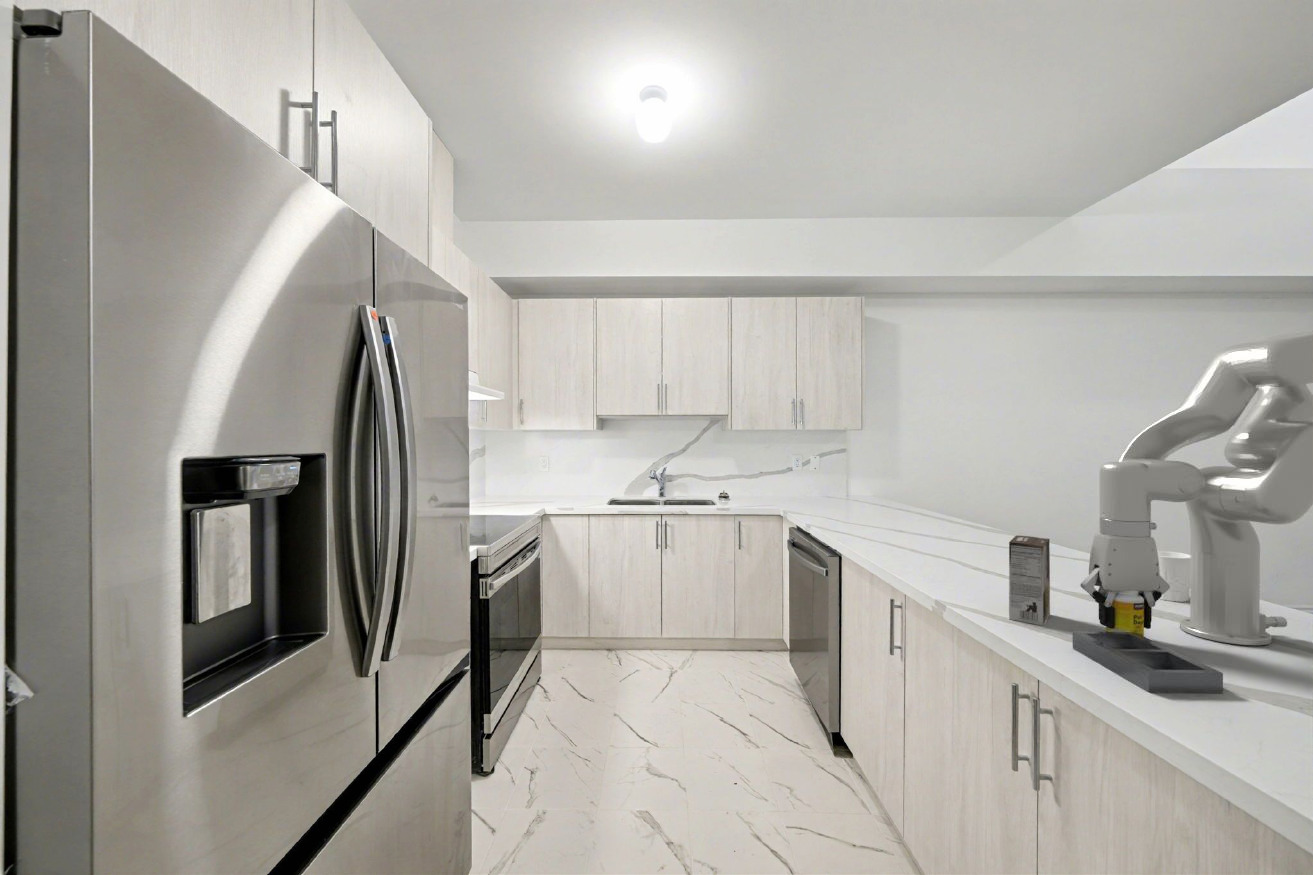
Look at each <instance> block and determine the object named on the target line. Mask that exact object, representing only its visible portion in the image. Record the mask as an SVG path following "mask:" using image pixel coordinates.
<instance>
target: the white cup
mask: <svg viewBox="0 0 1313 875" xmlns="http://www.w3.org/2000/svg"><path fill="white" fill-rule="evenodd" d="M1157 552H1158V559H1159V569H1160V576H1161V577H1162V578H1163V579H1164V580H1165V581H1166V582H1167V583H1168V584H1169V585H1170V588H1169V590H1167V591H1166V592H1165V593H1164V594H1162V596H1161V597H1160V598H1159V599H1158V600H1162V601H1168V602H1175V601H1176V602H1178V603H1181V602H1183V603H1185V602H1189V601H1190V574H1191V554H1187V553H1184V552H1176V551H1167V550H1165V551H1164V550H1157Z"/></svg>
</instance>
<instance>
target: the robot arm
mask: <svg viewBox="0 0 1313 875" xmlns="http://www.w3.org/2000/svg"><path fill="white" fill-rule="evenodd" d="M1309 384H1313V330H1309V331H1301V332H1294V333H1293V332H1292V333H1288V334H1287V333H1286V334H1281V335H1276V336H1271V337H1269V338H1266V339H1264V340H1262V341H1255V342H1254V341H1253V342H1248V343H1239V344H1234V345H1230V346H1227V347H1224V348H1222V349H1220V350H1219V351H1216V353H1215V354H1214V355H1213V356H1212V357H1211V359H1210V360H1209V361H1208V363H1207V364H1206V366H1205V367H1204V369H1203V370H1202V372H1201V374H1200V375H1199V376H1198V378H1197V380H1196V381H1195V383H1194V384H1193V386H1191V388H1190V390H1189V391H1188V393H1187V394H1186V395H1185V397H1184V398H1183V400H1182V402H1181V403H1180V404H1179V406H1178V407H1177V408H1176V409H1174V410H1172V411H1171V412H1170V413H1167V414H1166V415H1164V416H1163V417H1161V418H1159V419H1158V420H1156V422H1154V423H1153V424H1151V425H1150V426H1148V427H1147V428H1145V429H1144V430H1142V432H1140V433H1138V435H1137V436H1135V437H1134V438H1133V439H1132V441H1131V442H1130V443H1129V444H1128V446H1127V447H1126V448H1125V450H1124V451H1123V453H1122V454H1121V456H1120V458H1118V461H1108V462H1104V463H1103V464H1102V465H1101V466H1100V468H1099V533H1098V534H1097V533H1096V534H1094V537H1093V539H1092V543H1091V544H1092V545H1091V549H1090V554H1089V555H1090V556H1089V562H1088V563H1089V564H1088V565H1089V566H1088V575H1087V576H1086V578H1084V580H1083V581H1081V583H1080V584H1079V585H1080V588H1082V589H1083V590H1084V591H1085V592H1086V593H1087V594H1088V595H1089V596H1090V597H1091V598H1092V599H1093V600H1094V601H1095V603H1097V604H1098V620H1099V624H1100V625H1102V626H1104V627H1108V628H1110V629H1114V628H1115V608H1114V607H1112V606H1111V605H1112V602H1113V599H1114V596H1115V594H1116V592H1124V591H1138V593H1139V594H1138V595H1140V596H1142V597H1143V599H1144V629H1147V630H1150V629H1151V628H1152V621H1153V620H1152V619H1153V618H1152V615H1153V614H1152V611H1153V610H1152V608H1154V607H1156V603H1157V602H1158V601H1159V600H1160V599H1159V598H1160V597H1161V596H1162V594H1164V593H1165V592H1166V591H1167V590H1169V588H1170V585H1169V584H1168V583H1167V582H1166V581H1165V580H1164V579H1163V578H1162V577H1161V576H1160V569H1159V559H1158V552H1157V551H1158V548H1157V543H1156V541H1155V537H1153V536H1152V531H1153V530H1154V531H1155V530H1157V528H1158V526H1157V524H1156V522H1152V514H1151V512H1152V504H1151V503H1152V501H1161V502H1170V503H1171V502H1172V503H1183V502H1184V503H1185V505H1186V509H1187V513H1188V518H1189V529H1190V555H1191V574H1190V596H1189V601H1190V607H1189V608H1190V609H1189V610H1190V611H1189V612H1190V613H1189V618H1184V619H1180V621H1179V628H1180V629H1181V630H1182V631H1184V632H1186V633H1187V634H1189V635H1192V636H1196V637H1199V638H1201V639H1206V640H1210V641H1215V642H1220V643H1226V644H1231V645H1241V646H1264V645H1265V646H1266V645H1269V644H1271V643H1272V635H1271V634H1270V633H1268V632H1267V631H1266V629H1269V628H1270V627H1272V628H1286V627H1287V626H1288V621H1287V619H1286V617H1283V616H1278V615H1277V616H1267V615H1266V614H1264V613H1261V612H1260V611H1261V610H1260V608H1261V607H1260V606H1261V604H1260V603H1261V602H1260V596H1261V595H1260V592H1261V590H1260V589H1261V588H1260V587H1261V586H1260V584H1261V578H1260V577H1261V573H1260V572H1261V568H1260V567H1261V544H1260V539H1259V536H1258V534H1257V532H1256V530H1255V529H1254V526H1253V525H1252V524H1251V522H1253V523H1259V524H1261V523H1262V524H1269V525H1287V524H1288V525H1289V524H1292V523H1294V522H1296V521H1298V520H1300V519H1301V518H1302V517H1303V516H1304V515H1306V513H1307V512H1308V511H1309V510H1310V509H1311V507H1312V506H1313V392H1311V390H1310V389H1309V387H1308V385H1309ZM1256 394H1257V397H1256V400H1255V402H1254V403H1253V405H1252V406H1251V409H1250V410H1248V412H1247V413H1246V415H1245V416H1244V418H1243V419H1242V420H1241V422H1240V423H1239V424H1238V426H1237V427H1236V428H1235V430H1234V431H1233V432H1232V433H1231V435H1230V436H1229V438H1228V440H1227V441H1226V443H1225V445H1224V452H1223V453H1224V458H1225V459H1226V460H1227V462H1228V463H1229V464H1230V465H1232V466H1227V465H1223V466H1222V465H1214V466H1206V467H1202V468H1198V467H1196V466H1195V465H1193V464H1191V463H1189V462H1186V461H1185V462H1184V461H1181V460H1167V458H1168V457H1169V456H1170V455H1171V454H1173V453H1175V452H1177V451H1179V450H1180V449H1183V448H1185V447H1187V446H1189V445H1192V444H1195V443H1198V442H1201V441H1206V440H1208V439H1211V438H1214V437H1216V436H1220V435H1222V434H1224V433H1226V432H1228V431H1230V430H1231V429H1233V427H1234V426H1235V425H1236V424H1237V422H1238V420H1239V419H1240V417H1241V416H1242V414H1243V412H1244V411H1245V410H1246V408H1247V407H1248V405H1249V404H1250V402H1251V401H1252V399H1253V398H1254V396H1255V395H1256ZM1095 586H1096V587H1099V588H1098V590H1097V589H1096V587H1095Z"/></svg>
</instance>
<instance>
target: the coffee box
mask: <svg viewBox="0 0 1313 875" xmlns="http://www.w3.org/2000/svg"><path fill="white" fill-rule="evenodd" d="M1008 544H1009V546H1008V550H1009V551H1008V552H1009V553H1008V559H1009V560H1008V565H1009V567H1008V568H1009V569H1008V582H1009V583H1008V614H1009V615H1008V619H1009V620H1010V621H1016V622H1022V623H1028V624H1034V625H1041V626H1044V625H1045V624H1046V622H1047V620H1048V618H1049V616H1050V614H1051V602H1050V601H1051V595H1050V594H1051V586H1050V585H1051V583H1050V582H1051V578H1050V576H1051V570H1050V569H1051V567H1050V562H1051V561H1050V555H1051V553H1050V538H1042V537H1037V536H1030V535H1029V536H1027V535H1015V536H1013V538H1012V539H1011V540H1010V541H1009V542H1008Z"/></svg>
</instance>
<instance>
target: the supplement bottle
mask: <svg viewBox="0 0 1313 875" xmlns="http://www.w3.org/2000/svg"><path fill="white" fill-rule="evenodd" d="M1138 594H1139V593H1138V591H1124V592H1116V594H1115V596H1114V599H1113V602H1112V605H1111V606H1112V607H1114V608H1115V628H1114V629H1110V628H1108V627H1106V626H1105V627H1106V628H1105V629H1106V630H1105V632H1135V633H1137V634H1139V635H1142V636H1144V635H1145V628H1144V599H1143V597H1142V596H1140V595H1138ZM1144 637H1145V636H1144Z"/></svg>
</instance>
